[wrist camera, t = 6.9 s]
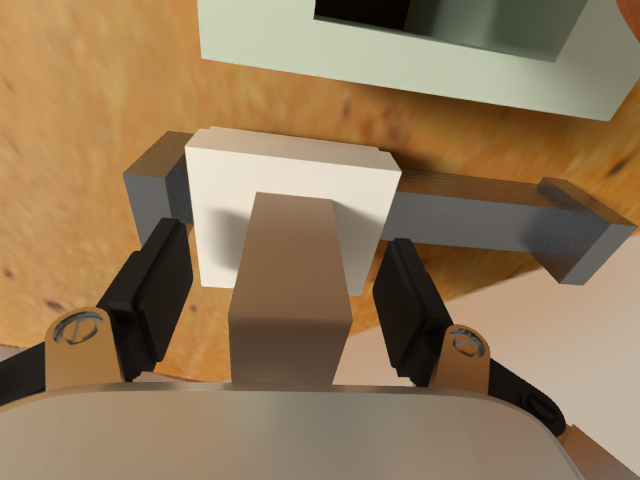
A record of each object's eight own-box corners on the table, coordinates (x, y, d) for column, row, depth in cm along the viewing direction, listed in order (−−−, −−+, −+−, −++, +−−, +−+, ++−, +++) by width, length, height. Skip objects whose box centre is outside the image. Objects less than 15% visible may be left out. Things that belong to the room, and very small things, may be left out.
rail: (565, 179, 18) (638, 226, 15) (528, 232, 21) (582, 285, 17) (167, 131, 15) (122, 173, 11) (177, 199, 18) (143, 254, 14)
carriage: (379, 137, 15) (473, 284, 7) (350, 248, 19) (387, 419, 11) (210, 115, 14) (92, 258, 6) (218, 237, 18) (156, 418, 10)
